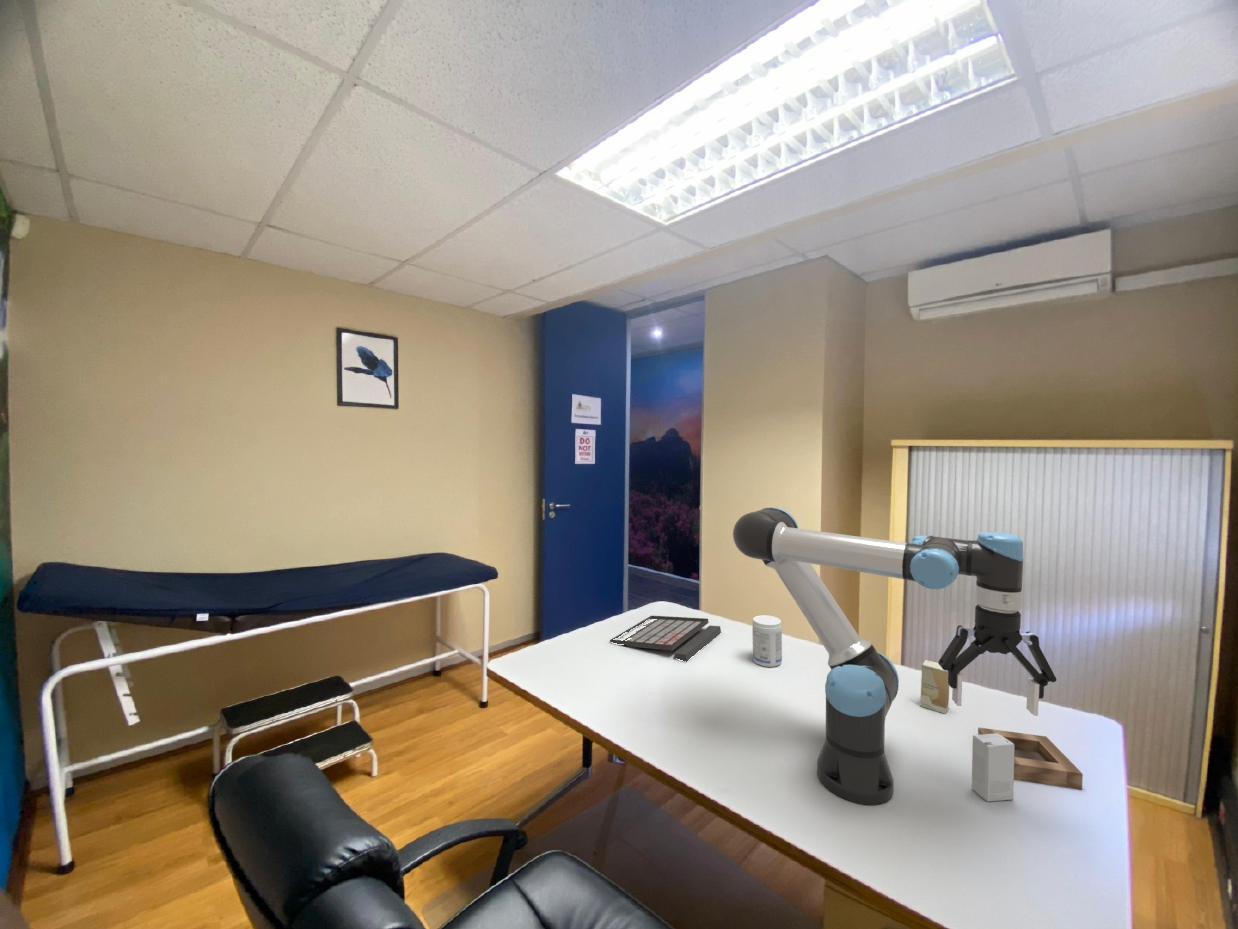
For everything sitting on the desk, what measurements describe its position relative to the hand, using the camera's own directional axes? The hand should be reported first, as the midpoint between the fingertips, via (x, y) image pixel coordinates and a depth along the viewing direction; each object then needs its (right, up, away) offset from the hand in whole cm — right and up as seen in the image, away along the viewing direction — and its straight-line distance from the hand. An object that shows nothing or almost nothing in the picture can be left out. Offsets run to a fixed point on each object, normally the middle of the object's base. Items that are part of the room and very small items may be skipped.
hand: (993, 707), depth 103 cm
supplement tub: (-28, -17, +65) cm, 73 cm away
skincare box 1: (+10, -18, +35) cm, 40 cm away
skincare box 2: (0, -19, 0) cm, 19 cm away
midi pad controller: (-60, -17, +87) cm, 107 cm away
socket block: (+15, -18, +10) cm, 26 cm away
